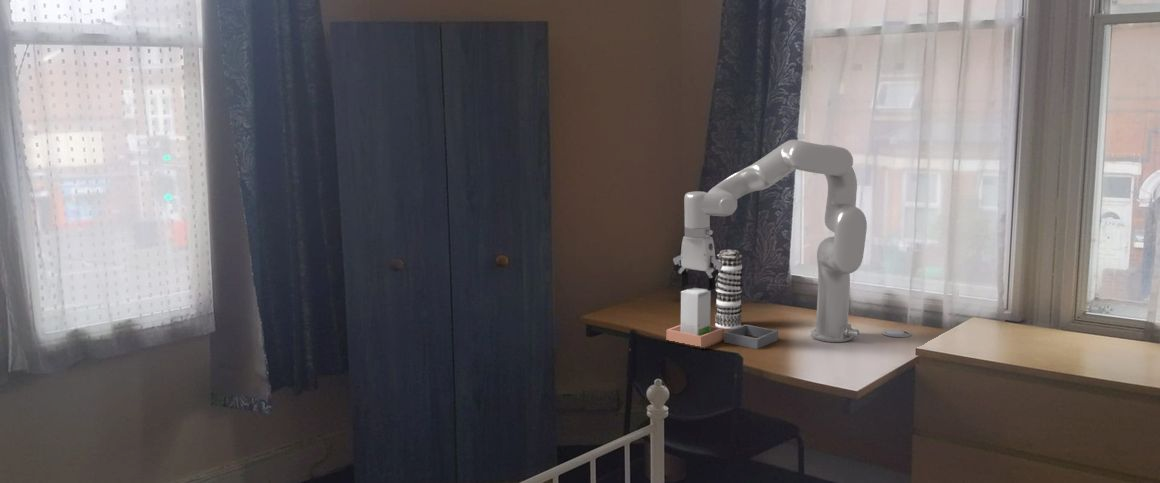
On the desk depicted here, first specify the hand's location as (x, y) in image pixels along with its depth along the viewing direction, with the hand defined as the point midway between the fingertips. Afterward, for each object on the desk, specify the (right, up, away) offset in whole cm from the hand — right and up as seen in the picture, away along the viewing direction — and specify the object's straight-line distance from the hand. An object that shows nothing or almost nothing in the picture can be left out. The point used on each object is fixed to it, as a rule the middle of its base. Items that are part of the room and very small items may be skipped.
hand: (697, 287), depth 282 cm
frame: (+17, -17, +3) cm, 24 cm away
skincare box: (0, -16, +3) cm, 17 cm away
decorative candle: (+13, -14, +21) cm, 28 cm away
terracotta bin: (0, -17, +3) cm, 17 cm away
